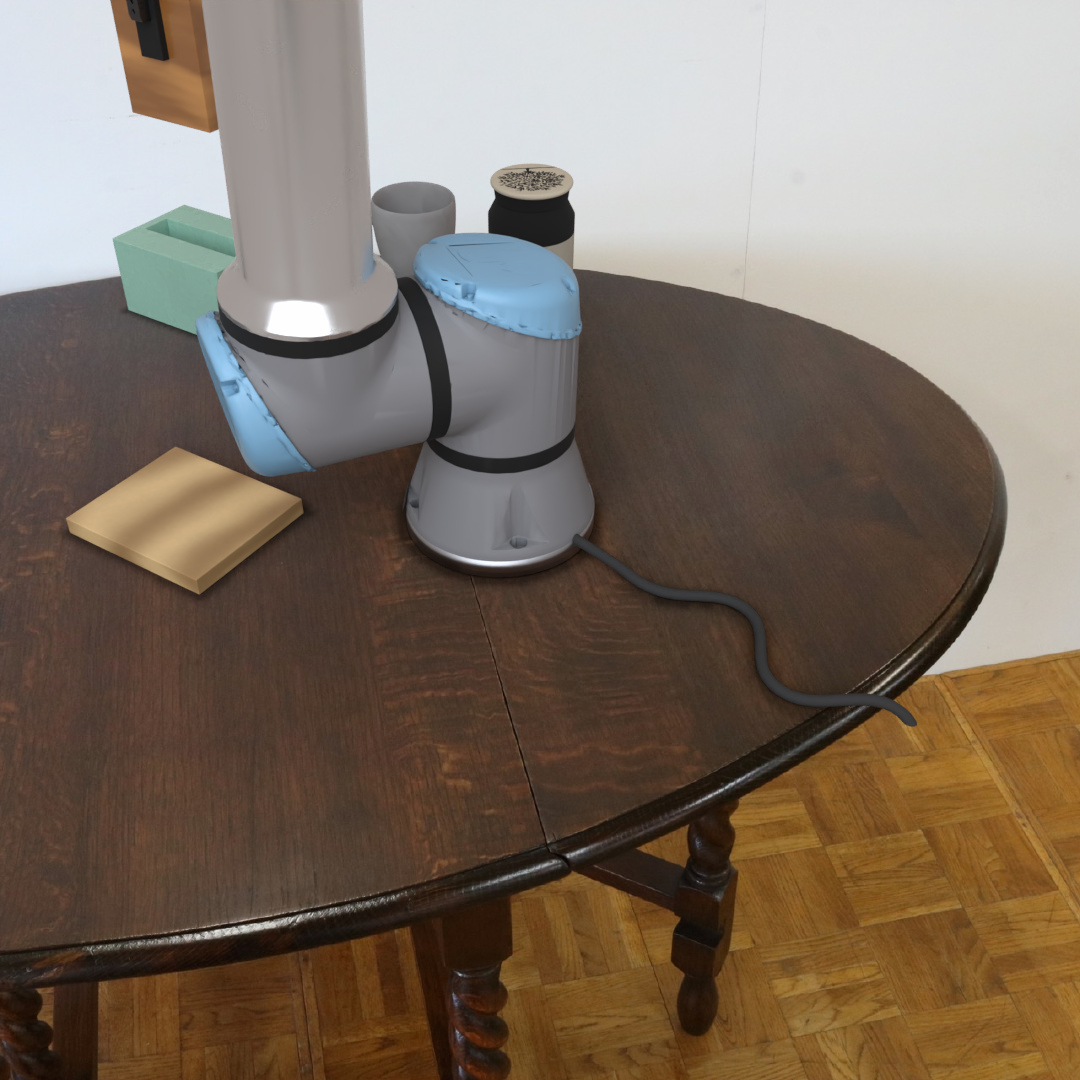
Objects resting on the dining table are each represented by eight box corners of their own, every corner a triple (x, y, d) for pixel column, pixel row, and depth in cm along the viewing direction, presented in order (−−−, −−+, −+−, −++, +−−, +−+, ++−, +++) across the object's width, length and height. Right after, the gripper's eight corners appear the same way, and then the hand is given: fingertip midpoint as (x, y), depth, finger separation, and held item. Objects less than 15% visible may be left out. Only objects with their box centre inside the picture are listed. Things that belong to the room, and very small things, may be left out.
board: (303, 513, 97) (301, 498, 96) (199, 595, 89) (196, 580, 88) (178, 460, 103) (175, 445, 102) (69, 533, 95) (65, 518, 94)
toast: (148, 106, 114) (122, -29, 106) (225, 127, 110) (204, -13, 102) (132, 112, 112) (104, -24, 105) (210, 133, 108) (187, -8, 101)
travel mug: (570, 375, 115) (577, 197, 103) (488, 374, 115) (485, 195, 103) (569, 335, 121) (575, 162, 110) (491, 334, 121) (489, 161, 110)
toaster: (186, 270, 131) (173, 201, 126) (294, 306, 125) (285, 235, 120) (117, 306, 124) (100, 234, 119) (228, 346, 118) (216, 272, 113)
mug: (464, 266, 133) (461, 183, 127) (450, 303, 126) (447, 217, 120) (359, 259, 134) (351, 176, 128) (339, 295, 127) (331, 210, 121)
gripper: (148, -269, 99) (195, 27, 114) (-1, -255, 89) (72, 68, 104) (214, -263, 96) (254, 40, 111) (68, -249, 86) (134, 83, 101)
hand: (166, 53), depth 107 cm, fingers closed on toast, 2 cm apart
